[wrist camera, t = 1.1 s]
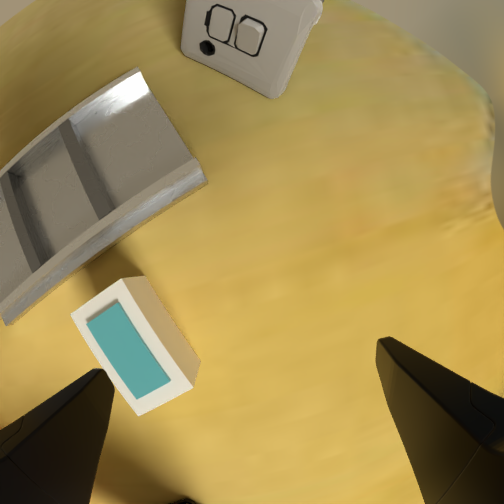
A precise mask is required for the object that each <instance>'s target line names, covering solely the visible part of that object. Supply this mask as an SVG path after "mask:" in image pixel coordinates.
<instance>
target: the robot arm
mask: <svg viewBox="0 0 504 504" xmlns="http://www.w3.org/2000/svg"><path fill="white" fill-rule="evenodd" d="M376 366H377V370H378V373H379V377H380V380H381V383H382V387H383V390H384V394H385V398H386V401H387V405H388V407H389V410H390V412H391V415H392V417H393V420H394V422H395V425H396V427H397V430H398V432H399V435H400V437H401V440H402V442H403V445H404V447H405V450H406V452H407V455H408V458H409V460H410V463H411V466H412V468H413V471H414V474H415V476H416V479H417V482H418V485H419V488H420V490H421V493H422V496H423V499H424V502H425V504H504V398H502V397H500V396H498V395H495V394H493V393H491V392H489V391H487V390H485V389H484V388H482V387H480V386H478V385H476V384H474V383H473V382H471V383H470V381H469V380H467V379H465V378H463V377H462V376H460V375H458V374H456V373H455V372H453V371H451V370H449V369H447V368H446V367H444V366H442V365H440V364H439V363H437V362H435V361H433V360H431V359H430V358H428V357H426V356H424V355H423V354H421V353H419V352H417V351H415V350H414V349H412V348H410V347H408V346H407V345H405V344H403V343H401V342H399V341H398V340H396V339H394V338H392V337H390V336H389V337H384V338H380V339H378V341H377V347H376ZM114 392H115V389H114V385H113V383H112V382H111V380H110V378H109V376H108V374H107V372H106V371H105V370H104V369H100V368H95V369H92V370H90V371H89V372H87V373H86V374H85V375H83V376H82V377H80V378H79V379H77V380H76V381H74V382H73V383H71V384H70V385H68V386H67V387H65V388H64V389H62V390H61V391H59V392H58V393H56V394H55V395H53V396H52V397H50V398H49V399H47V400H46V401H44V402H43V403H41V404H40V405H38V406H37V407H35V408H34V409H32V410H31V411H29V412H28V413H26V414H25V415H24V416H22V417H20V418H19V419H17V420H16V421H14V422H13V423H11V424H10V425H8V426H6V427H5V428H3V429H1V430H0V504H89V502H90V497H91V493H92V488H93V484H94V480H95V475H96V471H97V467H98V463H99V459H100V455H101V451H102V448H103V444H104V440H105V437H106V433H107V429H108V425H109V420H110V414H111V408H112V403H113V398H114ZM186 503H188V504H195V503H194V502H193V501H192V500H190V499H183V500H180V501H177V502H174V503H170V504H186Z"/></svg>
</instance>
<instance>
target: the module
mask: <svg viewBox="0 0 504 504" xmlns="http://www.w3.org/2000/svg"><path fill="white" fill-rule="evenodd" d="M70 315H71V317H72V319H73V320H74V322H75V324H76V326H77V327H78V329H79V331H80V332H81V334H82V336H83V338H84V339H85V341H86V342H87V344H88V346H89V347H90V349H91V351H92V352H93V354H94V355H95V357H96V358H97V360H98V361H99V363H100V364H101V366H102V367H103V369H104V370H105V371H106V372H107V374H108V376H109V378H110V379H111V381H112V382H113V383H114V385H115V386H116V388H117V389H118V390H119V392H120V393H121V394H122V396H123V397H124V398H125V400H126V401H127V402H128V404H129V405H130V406H131V408H132V409H133V410H134V411H135V413H136V414H137V415H138V416H140V415H142V414H144V413H146V412H148V411H150V410H152V409H154V408H156V407H158V406H160V405H162V404H164V403H166V402H168V401H170V400H172V399H173V398H175V397H177V396H179V395H181V394H183V393H185V392H186V391H188V390H190V389H192V388H194V384H195V380H196V377H197V373H198V369H199V366H200V362H201V361H200V359H199V358H198V356H197V355H196V354H195V352H194V351H193V349H192V348H191V346H190V345H189V343H188V342H187V341H186V339H185V338H184V336H183V335H182V333H181V332H180V330H179V329H178V327H177V326H176V324H175V323H174V321H173V320H172V318H171V316H170V315H169V313H168V312H167V310H166V309H165V307H164V306H163V304H162V302H161V301H160V299H159V298H158V296H157V294H156V293H155V291H154V289H153V288H152V286H151V284H150V283H149V281H148V280H147V278H146V276H137V277H128V278H121V279H120V280H118V281H117V282H115V283H114V284H112V285H111V286H109V287H108V288H107V289H105V290H104V291H102V292H101V293H99V294H98V295H97V296H95V297H94V298H92V299H91V300H89V301H88V302H87V303H85V304H84V305H82V306H81V307H80V308H78V309H77V310H75V311H74V312H73V313H71V314H70Z"/></svg>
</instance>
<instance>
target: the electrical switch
mask: <svg viewBox="0 0 504 504" xmlns="http://www.w3.org/2000/svg"><path fill="white" fill-rule="evenodd" d="M323 2H324V0H186V6H185V14H184V22H183V31H182V40H181V50H182V52H183V54H184V55H185V56H187V57H189V58H191V59H193V60H196V61H198V62H200V63H202V64H204V65H206V66H209V67H211V68H213V69H215V70H217V71H219V72H221V73H223V74H225V75H227V76H229V77H231V78H233V79H235V80H237V81H238V82H240V83H242V84H244V85H246V86H248V87H250V88H252V89H253V90H255V91H257V92H259V93H261V94H262V95H264V96H266V97H268V98H270V99H274V98H278V97H279V96H280V95H281V94H282V93H283V92H284V91H285V89H286V87H287V84H288V81H289V79H290V77H291V74H292V72H293V70H294V67H295V65H296V63H297V60H298V58H299V56H300V53H301V51H302V49H303V46H304V44H305V42H306V40H307V37H308V35H309V33H310V31H311V29H312V27H313V25H314V24H317V22H318V20H319V18H320V16H321V14H322V10H323V8H322V4H323Z"/></svg>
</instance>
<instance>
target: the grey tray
mask: <svg viewBox="0 0 504 504" xmlns="http://www.w3.org/2000/svg"><path fill="white" fill-rule="evenodd" d="M207 184H208V180H207V178H206V177H205V175H204V174H203V172H202V168H201V165H200V163H199V162H198V160H197V158H196V157H195V158H193V156H192V155H191V153H190V152H189V150H188V148H187V147H186V145H185V144H184V142H183V141H182V139H181V137H180V136H179V134H178V133H177V131H176V130H175V128H174V126H173V125H172V123H171V122H170V120H169V119H168V117H167V115H166V114H165V112H164V111H163V109H162V108H161V106H160V104H159V103H158V101H157V100H156V98H155V97H154V95H153V93H152V92H151V90H150V89H149V87H148V85H147V84H146V82H145V80H144V78H143V76H142V73H141V71H140V69H139V68H138V67H136V68H134V69H132V70H131V71H129V72H127V73H125V74H124V75H122V76H120V77H119V78H117V79H115V80H114V81H112V82H111V83H109V84H107V85H106V86H104V87H103V88H101V89H100V90H98V91H97V92H95V93H94V94H92V95H91V96H89V97H88V98H86V99H85V100H83V101H82V102H81V103H79V104H78V105H76V106H75V107H74V108H72V109H71V110H69V111H68V112H67V113H65V114H64V115H63V116H62V117H60V118H59V119H58V120H56V121H55V122H54V123H53V124H51V125H50V126H49V127H48V128H46V129H45V130H44V131H43V132H42V133H40V134H39V135H38V136H37V137H36V138H34V139H33V140H32V141H31V142H30V143H29V144H28V145H27V146H25V147H24V148H23V149H22V150H21V151H20V152H19V153H18V154H17V155H16V156H15V157H13V158H12V159H11V160H10V161H9V162H8V163H7V164H6V165H5V166H4V167H3V168H2V169H1V170H0V320H1V319H3V321H4V323H5V325H6V326H9V325H13V324H14V323H15V322H16V321H17V320H19V319H20V318H21V317H22V316H23V315H24V314H26V313H27V312H28V311H29V310H30V309H32V308H33V307H34V306H35V305H36V304H38V303H39V302H40V301H41V300H43V299H44V298H45V297H46V296H47V295H49V294H50V293H51V292H52V291H54V290H55V289H56V288H58V287H59V286H60V285H61V284H63V283H64V282H65V281H67V280H68V279H69V278H70V277H72V276H73V275H74V274H76V273H77V272H78V271H80V270H81V269H82V268H84V267H85V266H86V265H88V264H89V263H90V262H92V261H93V260H94V259H96V258H97V257H99V256H100V255H101V254H103V253H104V252H105V251H107V250H108V249H110V248H111V247H113V246H114V245H115V244H117V243H118V242H120V241H121V240H122V239H124V238H125V237H127V236H128V235H130V234H131V233H133V232H134V231H136V230H137V229H138V228H140V227H141V226H143V225H144V224H146V223H147V222H149V221H150V220H152V219H153V218H155V217H156V216H158V215H160V214H161V213H163V212H164V211H166V210H167V209H169V208H170V207H172V206H173V205H175V204H177V203H178V202H180V201H181V200H183V199H185V198H186V197H188V196H189V195H191V194H193V193H194V192H196V191H197V190H199V189H201V188H202V187H204V186H206V185H207Z"/></svg>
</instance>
